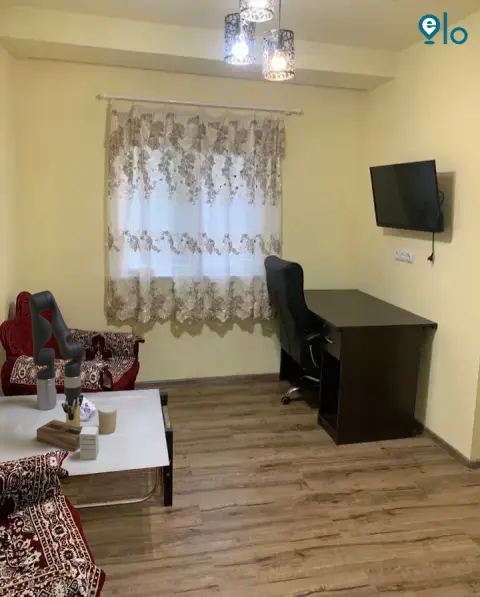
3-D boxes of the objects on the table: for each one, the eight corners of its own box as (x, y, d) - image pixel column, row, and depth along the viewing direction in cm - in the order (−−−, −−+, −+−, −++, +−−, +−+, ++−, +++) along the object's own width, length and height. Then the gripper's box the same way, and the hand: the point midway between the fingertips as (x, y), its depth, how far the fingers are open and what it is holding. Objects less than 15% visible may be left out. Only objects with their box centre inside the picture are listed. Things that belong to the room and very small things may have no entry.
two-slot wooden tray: (54, 430, 259) (53, 419, 258) (91, 440, 252) (91, 429, 251) (36, 440, 248) (36, 429, 247) (75, 451, 241) (74, 439, 240)
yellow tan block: (69, 422, 248) (69, 402, 246) (80, 425, 246) (79, 405, 244) (66, 424, 246) (65, 404, 244) (76, 427, 244) (76, 407, 242)
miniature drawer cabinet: (82, 451, 241) (82, 426, 239) (99, 451, 242) (99, 426, 239) (79, 459, 234) (79, 433, 232) (96, 459, 235) (96, 434, 232)
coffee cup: (120, 428, 265) (120, 406, 263) (110, 436, 257) (110, 413, 254) (104, 425, 268) (104, 403, 266) (94, 432, 260) (94, 410, 257)
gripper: (75, 378, 249) (76, 411, 253) (55, 387, 237) (56, 423, 240) (88, 380, 247) (88, 414, 250) (69, 390, 234) (69, 426, 238)
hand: (73, 418), depth 245 cm, fingers closed on yellow tan block, 2 cm apart
